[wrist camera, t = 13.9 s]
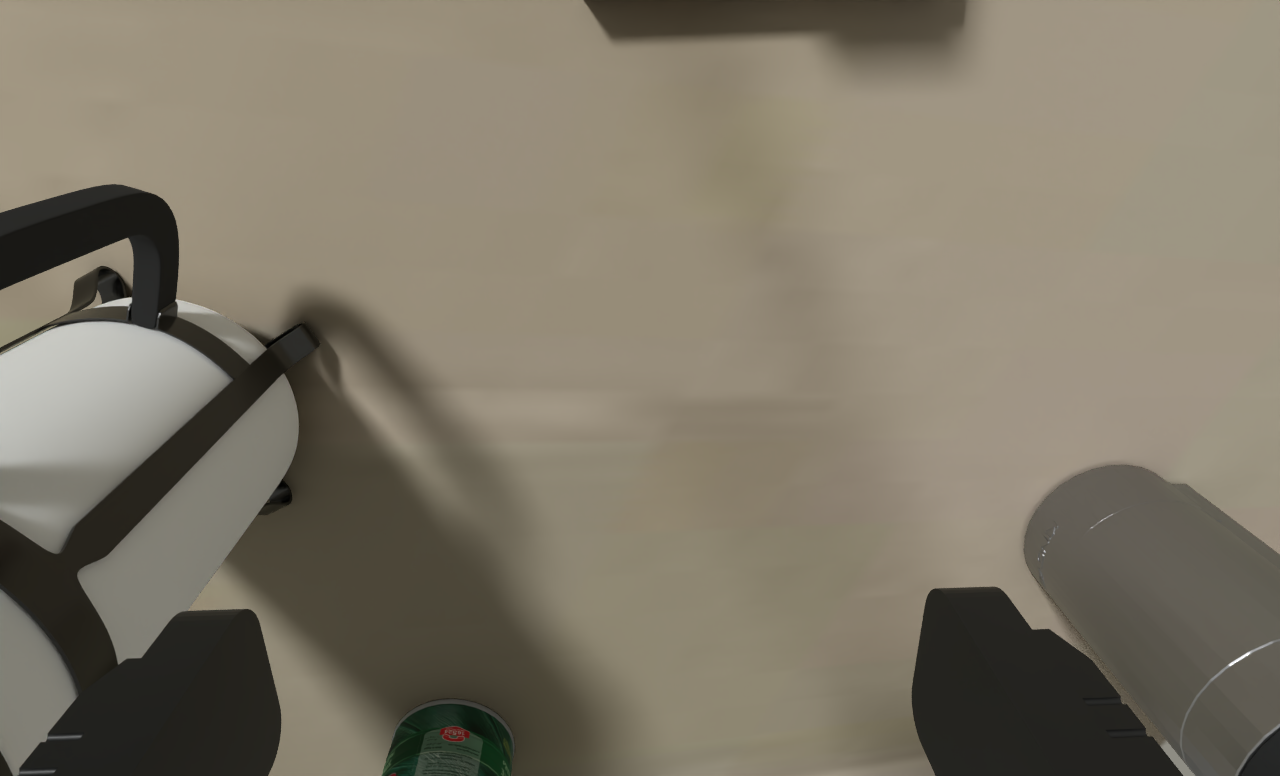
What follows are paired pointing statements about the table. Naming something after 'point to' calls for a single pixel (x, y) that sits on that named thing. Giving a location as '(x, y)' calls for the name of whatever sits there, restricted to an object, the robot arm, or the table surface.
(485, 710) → the canned tomato
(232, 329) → the coffee press
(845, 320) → the table surface
